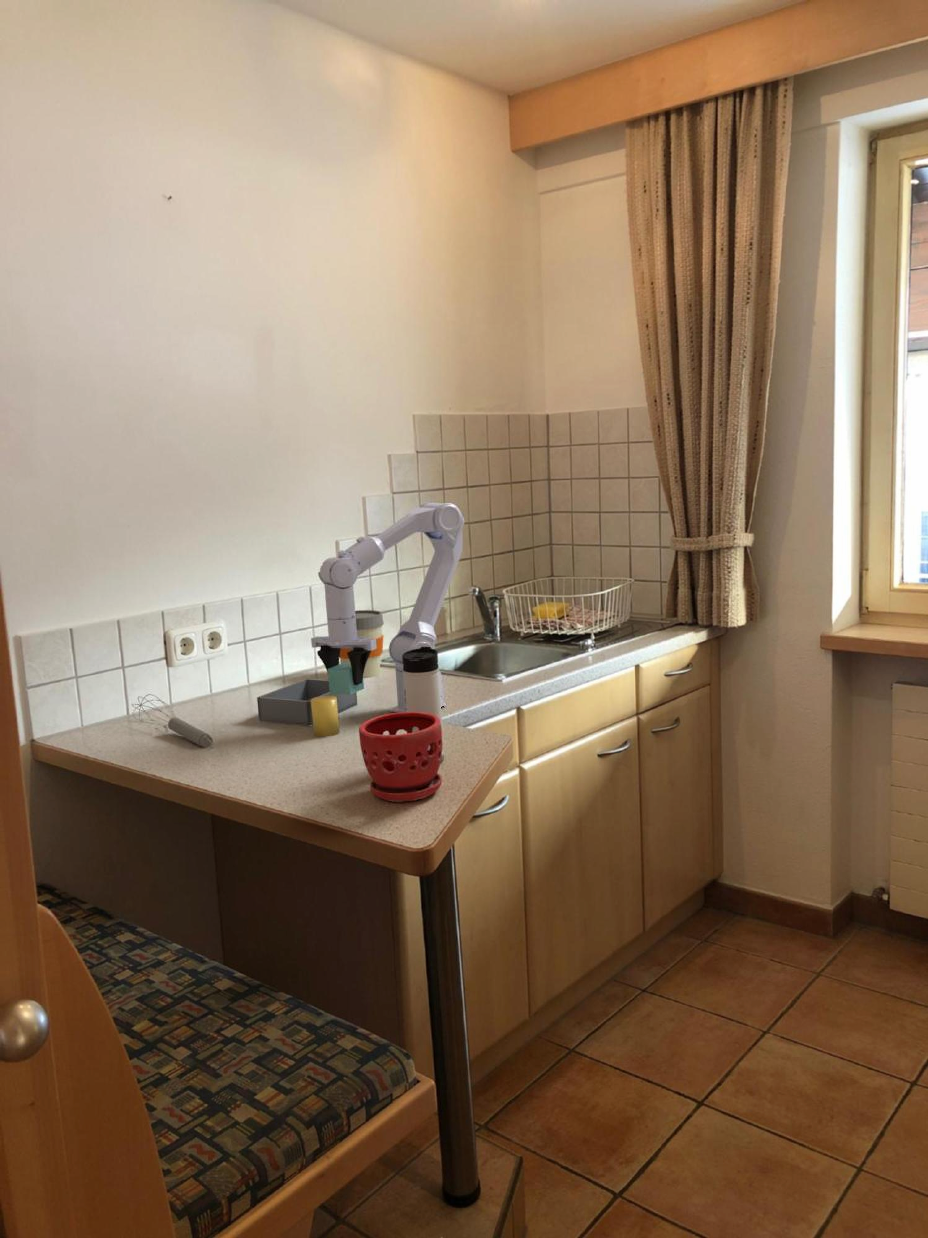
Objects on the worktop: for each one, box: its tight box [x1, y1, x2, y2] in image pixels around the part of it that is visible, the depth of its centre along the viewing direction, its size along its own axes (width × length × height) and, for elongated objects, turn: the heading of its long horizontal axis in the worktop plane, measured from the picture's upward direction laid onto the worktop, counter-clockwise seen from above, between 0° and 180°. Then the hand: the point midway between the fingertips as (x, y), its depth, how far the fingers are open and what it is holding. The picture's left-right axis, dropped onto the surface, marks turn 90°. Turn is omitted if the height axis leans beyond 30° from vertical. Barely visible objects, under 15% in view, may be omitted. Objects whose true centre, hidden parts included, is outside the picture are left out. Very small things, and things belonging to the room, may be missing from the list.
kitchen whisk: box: [131, 693, 214, 749], centre depth 207 cm, size 6×34×6 cm, turn 40°
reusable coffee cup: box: [339, 609, 385, 679], centre depth 250 cm, size 13×13×15 cm
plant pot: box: [358, 712, 444, 803], centre depth 163 cm, size 13×13×12 cm
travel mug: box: [402, 647, 445, 763], centre depth 179 cm, size 6×7×20 cm
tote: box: [256, 678, 358, 726], centre depth 217 cm, size 17×13×5 cm
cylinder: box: [311, 696, 340, 738], centre depth 201 cm, size 5×5×7 cm
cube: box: [327, 663, 365, 695], centre depth 207 cm, size 5×5×5 cm
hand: (346, 683), depth 207 cm, fingers closed on cube, 5 cm apart
